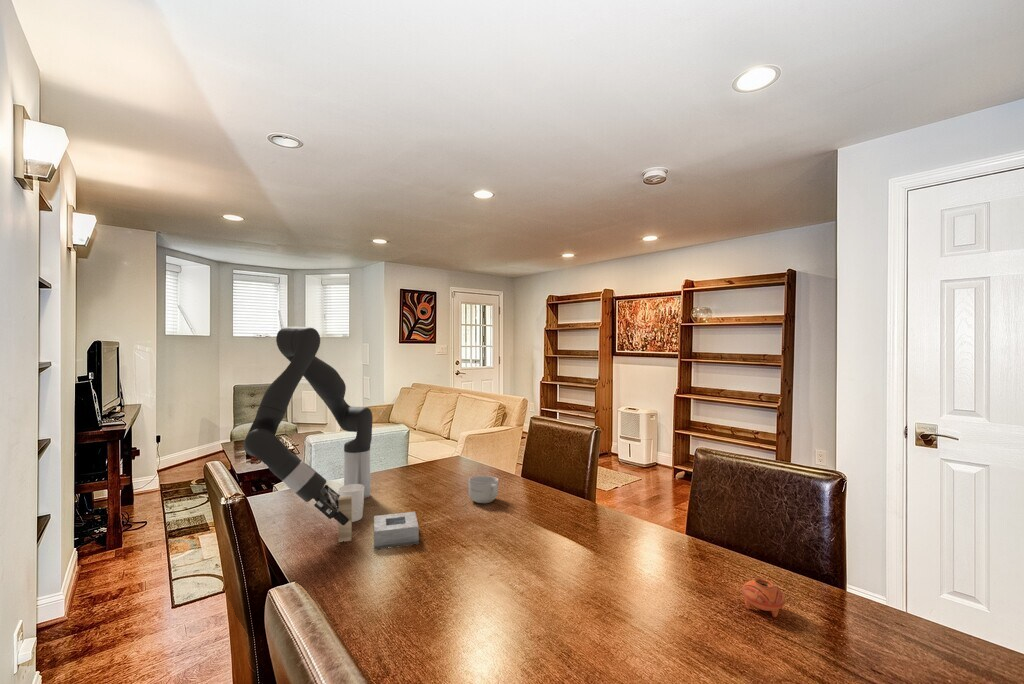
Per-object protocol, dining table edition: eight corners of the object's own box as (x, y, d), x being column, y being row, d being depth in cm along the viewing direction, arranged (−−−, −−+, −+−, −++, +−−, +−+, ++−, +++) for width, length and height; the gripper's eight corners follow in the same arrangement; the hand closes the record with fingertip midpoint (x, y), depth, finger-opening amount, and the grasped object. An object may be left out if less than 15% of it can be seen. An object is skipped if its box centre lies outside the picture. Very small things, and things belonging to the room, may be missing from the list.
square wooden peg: (339, 537, 132) (339, 496, 132) (351, 535, 133) (351, 495, 133) (338, 542, 129) (338, 499, 129) (351, 540, 130) (351, 498, 130)
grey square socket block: (374, 532, 135) (374, 515, 135) (415, 527, 139) (414, 511, 139) (374, 549, 124) (374, 531, 124) (418, 544, 127) (418, 526, 127)
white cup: (368, 514, 150) (368, 484, 150) (357, 523, 142) (357, 491, 142) (345, 513, 151) (345, 483, 151) (334, 522, 143) (333, 491, 143)
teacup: (464, 498, 166) (464, 476, 166) (491, 494, 170) (491, 472, 170) (477, 510, 153) (477, 487, 153) (507, 506, 157) (507, 482, 158)
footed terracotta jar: (742, 593, 101) (750, 565, 100) (782, 614, 96) (790, 585, 95) (733, 608, 94) (742, 578, 94) (775, 631, 90) (784, 600, 89)
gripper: (311, 477, 122) (356, 515, 125) (317, 464, 136) (358, 499, 139) (289, 499, 120) (335, 537, 124) (298, 484, 134) (339, 518, 137)
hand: (347, 517), depth 131 cm, fingers open, 8 cm apart
